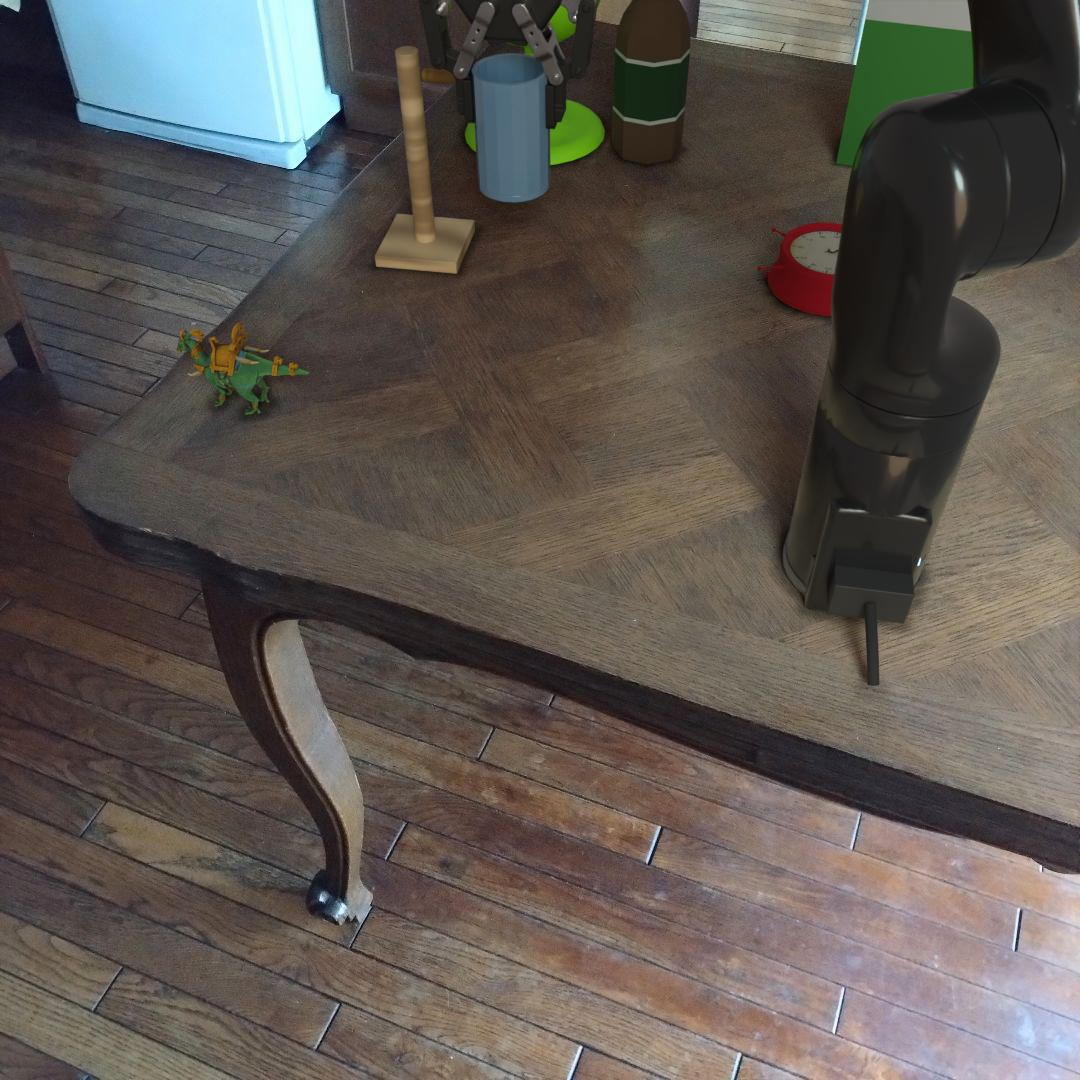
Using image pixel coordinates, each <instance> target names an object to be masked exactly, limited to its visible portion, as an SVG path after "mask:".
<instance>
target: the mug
mask: <svg viewBox="0 0 1080 1080" xmlns="http://www.w3.org/2000/svg"><path fill="white" fill-rule="evenodd" d="M471 74H472V90H473V107H474V124H475V141H476V152H475V154H476V155H475V156H476V172H477V173H476V174H477V180H478V189H479V190H480V192H481V194H483V195H484V196H485V197H487V198H488V199H492V200H494V201H498V202H503V203H524V202H528V201H532V200H535V199H537V198H540V197H542V196H543V195H544V194H545V193H547V191H548V190H549V188H550V186H551V165H550V129H546V84H547V83H548V78H547V76H546V74H545V72H544V70H543V68H542V66H541V64H540V62H539V61H537V60H536V58H535V56H531V55H527V54H525V53H517V52H508V53H497V54H492V55H490V56H486V57H483V58H482V59H480V60H478V61H475V62H474V64H473V68H472V70H471Z"/></svg>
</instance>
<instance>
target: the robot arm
mask: <svg viewBox="0 0 1080 1080" xmlns="http://www.w3.org/2000/svg"><path fill="white" fill-rule="evenodd" d="M452 1H454V2H455V4H456V5H457V6H458V8H459V10H460V11H461V12H462V13H463V16H465V18H466V19H467V21H468V22H469V23H470V24H471V26H470V28H469V30H468V34H467V36H466V38H465V40H464V41H463V45H462V47H461V50H460V51H459V50H457V49H454V48H453V46H452V40H451V34H450V29H449V24H448V17H447V15H448V14H449V12H450V10H451V9H452ZM967 3H968V8H969V16H970V25H971V36H972V51H973V87H971V88H966V89H960V90H955V91H949V92H943V93H938V94H932V95H927V96H922V97H917V98H912V99H908V100H904V101H900V102H898V103H895V104H892V105H890V106H889V107H887V108H886V109H884V110H883V111H882V112H880V113H879V114H878V116H877V117H876V118H875V119H874V120H873V121H872V123H871V124H870V126H869V127H868V129H867V130H866V132H865V134H864V136H863V138H862V140H861V142H860V145H859V147H858V150H857V153H856V156H855V158H854V162H853V166H851V171H850V174H849V179H848V185H847V191H846V196H845V202H844V207H843V208H844V209H843V216H842V222H841V224H842V229H841V236H840V242H839V248H838V255H837V261H836V267H835V273H834V279H833V285H832V293H831V316H830V317H831V318H830V320H831V341H830V342H831V343H830V348H829V351H828V352H829V353H828V357H827V362H826V367H825V371H824V375H823V380H822V383H821V388H820V392H819V397H818V400H817V405H816V410H815V414H814V416H813V422H812V427H811V431H810V436H809V440H808V445H807V448H806V453H805V456H804V457H805V458H804V462H803V465H802V470H801V471H802V472H801V475H800V479H799V483H798V488H797V492H796V496H795V501H793V502H792V503H791V506H790V509H789V515H788V519H790V518H791V520H790V524H789V527H788V528H789V529H788V533H787V535H786V537H785V541H784V544H783V548H782V557H781V558H782V565H783V569H784V572H785V574H786V576H787V578H788V579H789V581H790V582H791V584H792V585H793V586H794V588H796V589H797V591H799V592H800V593H801V594H802V595H803V598H804V607H805V608H806V609H808V610H812V611H813V610H814V611H822V612H826V614H827V615H833V616H840V617H849V618H857V619H862V620H863V619H864V628H865V648H866V682H867V683H866V686H870V687H878V686H880V653H879V635H878V633H879V632H878V631H879V630H878V621H879V622H880V621H881V622H887V623H888V622H889V623H895V624H905V623H906V620H907V617H908V614H909V612H910V610H911V606H912V603H913V601H914V599H915V593H916V591H917V589H918V586H919V584H920V582H921V579H922V576H923V568H924V566H925V563H926V561H927V558H928V555H929V552H930V550H931V547H932V544H933V542H934V538H935V535H936V534H937V530H938V527H939V525H940V523H941V520H942V517H943V514H944V511H945V509H946V506H947V503H948V500H949V498H950V495H951V492H952V490H953V486H954V484H955V483H956V479H957V477H958V473H959V471H960V467H961V465H962V462H963V460H964V457H965V454H966V451H967V449H968V447H969V444H970V440H971V438H972V435H973V433H974V430H975V428H976V426H977V422H978V419H979V418H980V417H979V416H980V414H981V413H982V412H981V411H982V409H983V406H984V403H985V401H986V398H987V396H988V394H989V391H990V389H991V386H992V383H993V380H994V378H995V376H996V373H997V370H998V367H999V363H1000V359H1001V352H1002V351H1001V350H1002V346H1001V340H1000V337H999V334H998V332H997V330H996V328H995V326H994V325H993V324H992V322H991V321H990V320H989V318H987V316H985V315H984V314H983V313H981V311H979V310H978V309H977V308H975V307H974V306H972V305H970V304H969V303H968V302H966V301H964V300H962V299H960V298H958V297H956V296H954V295H953V294H954V290H955V288H956V285H957V283H958V282H962V281H967V280H971V279H976V278H980V277H985V276H990V275H993V274H998V273H1003V272H1007V271H1010V270H1015V269H1019V268H1023V267H1028V266H1032V265H1036V264H1039V263H1043V262H1046V261H1049V260H1051V259H1054V258H1056V257H1059V256H1061V255H1062V254H1064V253H1066V251H1068V250H1069V249H1070V248H1071V247H1073V245H1074V244H1076V243H1077V241H1078V240H1079V239H1080V0H967ZM418 4H419V5H418V6H419V9H420V15H421V20H422V25H423V29H424V35H425V40H426V44H427V50H428V54H429V59H430V64H431V66H432V67H433V69H437V70H441V69H444V70H447V71H449V72H451V73H452V74H453V75H454V77H455V81H456V84H455V95H456V108H457V111H458V114H459V116H464V122H465V124H468V123H474V107H473V90H472V74H471V70H472V68H473V66H474V64H475V63H476V60H477V57H478V56H479V53H480V51H481V49H482V46H483V44H484V43H485V41H487V45H501V44H507V43H506V42H508V43H511V44H514V45H517V46H516V47H521V46H527V44H529V46H530V48H531V50H532V52H533V54H534V56H535V58H536V60H537V61H539V62H540V64H541V66H542V68H543V70H544V72H545V74H546V76H547V78H548V83H547V84H546V129H555V128H556V125H557V122H561V121H562V119H563V116H564V114H565V111H566V99H567V82H568V81H569V80H572V79H576V80H581V79H583V78H584V77H585V75H586V73H587V69H588V66H589V65H590V61H591V56H592V55H591V54H592V48H593V40H594V33H595V26H596V20H597V19H596V18H597V11H598V8H597V5H598V0H418ZM560 6H563V7H564V8H566V10H567V12H568V19H569V21H570V22H571V23H573V24H576V29H575V33H574V39H573V47H572V53H571V56H568V57H565V55H564V53H563V50H562V48H561V47H560V43H558V39H557V35H556V33H555V31H554V29H553V27H552V25H551V23H550V20H551V18H552V17H553V15H554V14H555V13H556V11H557V10H558V8H559V7H560ZM598 6H599V5H598ZM511 44H510V45H511ZM514 45H513V46H514Z"/></svg>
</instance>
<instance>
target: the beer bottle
mask: <svg viewBox="0 0 1080 1080" xmlns="http://www.w3.org/2000/svg"><path fill="white" fill-rule="evenodd" d="M691 31H692V29H691V25H690V21H689V18H688V14H687V12H686V10H685V8H684V6H683V5H682V3H681V0H631V1H630V3H629V4H628V6H627V7H626V8H625V10H624V12H622V16H621V19H620V21H619V24H618V26H617V29H616V36H615V37H616V38H615V45H614V46H615V48H614V66H613V67H614V70H613V71H614V72H613V93H612V94H613V95H612V118H611V119H612V121H611V122H612V123H611V141H612V142H611V143H612V144H611V145H612V147H613V149H614V150H615V152H616V153H617V154H618V155H619V157H621V158H622V159H623V160H624V161H628V162H633V163H637V164H642V165H643V164H644V165H652V164H656V163H657V164H658V163H662V162H667V161H671V160H672V159H673V157H674V156H675V155H676V153H677V152H678V151H679V149H680V148H681V146H682V142H683V141H682V139H683V133H684V132H683V131H684V124H685V113H686V101H687V90H688V81H689V80H688V79H689V67H690V58H691V57H690V56H691V33H692V32H691Z"/></svg>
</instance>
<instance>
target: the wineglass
mask: <svg viewBox="0 0 1080 1080" xmlns="http://www.w3.org/2000/svg"><path fill="white" fill-rule="evenodd" d="M601 1H602V0H598V5H597V9H598V8H599V5H600V3H601ZM550 23H551V25H552V27H553V29H554V31H555V33H556V35H557V39H558V44H560V43H562V42H564V41H565V40H567V39H568V38H569V37H571V36H573V35H575V29H576V24H573V23H571V22H570V21H569V19H568V12H567V10H566V8H564V7H563V6H560V7H559V8H558V10H557V11H556V13H555V14H554V15H553V17H552V18H551V20H550ZM505 44H508V45H511V46H516V47H518V46H517V45H514V44H511V43H508V42H506V43H505ZM520 47H522V48H524V54H527V55H531V56H534V54H533V52H532V50H531V48H530V46H529V44H527V46H520ZM605 132H606V130H605V127H604V124H603V122H602V120H601V118H600V117H599V116H598V115H597V114H596V113H595V112H594V111H593V110H592V109H590V108H589V107H587V106H586V105H583V104H581V103H580V102H577V101H573V100H571V99H567V98H566V111H565V114H564V116H563V119H562V121H561V122H557V125H556V128H555V129H550V166H555V165H560V164H563V163H568V162H573V161H575V160H577V159H580V158H582V157H585V156H587V155H589V154H590V153H592V152H593V151H595V150H596V149H597V148H599V146H600V145H601V143H602V142H603V141H604V138H605ZM464 136H465V142H466V144H468V146H469V148H471V150H472V151H473V152H475V153H476V141H475V124H474V123H467V126H466V128H465V131H464Z"/></svg>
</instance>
